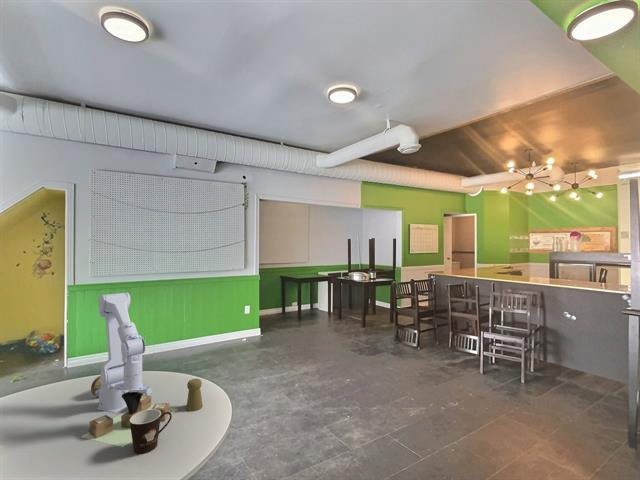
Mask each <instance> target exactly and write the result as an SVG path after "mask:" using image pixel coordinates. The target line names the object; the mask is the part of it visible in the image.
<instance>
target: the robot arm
mask: <svg viewBox="0 0 640 480" xmlns="http://www.w3.org/2000/svg"><path fill="white" fill-rule="evenodd" d="M131 303H132V302H131V295H130V293H129V292H128V291H126V292H120V293H119V292H118V293H110V294H109V293H108V294H101V295H100V296H99V297H98V313H99V317H103V318H104V320H105V328H106V329H105V330H106V341H107V356H108V357H107V358H108V359H107V360H106V361H105V362H103V364H102V365H101V367H100V373H99V376H100V381H101V385H102V386H101V388H100V390H99V397H98V407H96V410H100V411H105V412H109V413H115V414H116V413H117V412H119V411H121V410H123V409H124V408H127V410H128V411H129V414H133V413H135V412H137V408H138V405H139V402H140V399H141V397H142V395H146V396H150V395H151V394H152V392H153V391H152V390H153V389H152V387H150V386H148V385H146V384H145V383H143V354H145V351H146V342H145V338H144V337H142V335H141V334H139V331H138V329H137V326H136V324H135V323H134V322H132V321H131V319H130V315H129V309H130V306H131Z"/></svg>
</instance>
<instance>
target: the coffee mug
mask: <svg viewBox="0 0 640 480" xmlns="http://www.w3.org/2000/svg"><path fill="white" fill-rule="evenodd" d="M165 414H169V418H168V420H167V422H166V423H165V424H164V425H163V426H162V428H161V429H160V426H161V422H160V420H161V418H162V417H163V416H164V415H165ZM172 417H173V416H172V414H171V413H170V412H165V413H163V414H162V415H161V412H160V411H159V410H156V409H149V410H144V411H141V412H138V413H136V414H134V415H133V416H132V417H131V418H130V427H131V434H132V441H131V443H132V449H133V453H135V454H136V455H144V454H148V453H150V452H152V451H154V450H155V449H156V448H158V447H157V446H158V442H159V435H160V434H161V433H162V432H163V431H164V429H166V427H167V426H168V425H169V424H170V422H171V420H172Z"/></svg>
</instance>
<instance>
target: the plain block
mask: <svg viewBox="0 0 640 480" xmlns="http://www.w3.org/2000/svg"><path fill="white" fill-rule="evenodd" d="M126 411H127V410H126ZM141 411H144V409H137V412H135V413H133V414H129V411H127V412H126V413H125V414H123V415H122V416H121V428H131V427H130V418H131V417H132V416H133V415H134V414H136V413H138V412H141Z"/></svg>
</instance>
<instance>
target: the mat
mask: <svg viewBox="0 0 640 480" xmlns="http://www.w3.org/2000/svg"><path fill="white" fill-rule="evenodd" d="M154 405H155V404H152V403H151V407H149V408H148V409H147V410H149V409H152V408H153V406H154ZM178 410H179V409H178V408H173V407H169V412H170V413H171V415H172V414H174V413H176V412H177V411H178ZM127 411H128V409H127V410H126V411H123V412H122V413H120V414H119V415H117V416H115V417H113V418H112V419H113V431H112V432H110V433H107V434H105V435H103V436H101V437H99V438H95V437H94V436H92V435H91V434H89V432H87V433H85V434H83V435H81V436H80V438H83V439H87V440H91V441H96V442H100V443H104V444H108V445H112V446H116V447H119V448H120V447H121V448H125V446H127V445H128V444H130V443H132V434H131V428H121V416H122V415H123V414H125V413H126V412H127ZM168 417H170V415H168ZM161 422H162V421H160V423H161Z"/></svg>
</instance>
